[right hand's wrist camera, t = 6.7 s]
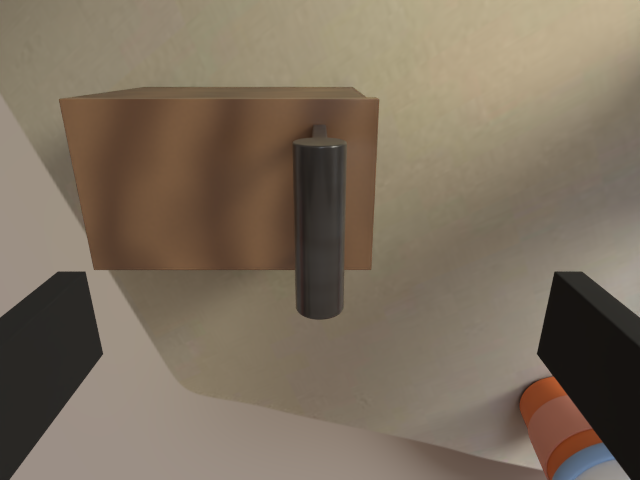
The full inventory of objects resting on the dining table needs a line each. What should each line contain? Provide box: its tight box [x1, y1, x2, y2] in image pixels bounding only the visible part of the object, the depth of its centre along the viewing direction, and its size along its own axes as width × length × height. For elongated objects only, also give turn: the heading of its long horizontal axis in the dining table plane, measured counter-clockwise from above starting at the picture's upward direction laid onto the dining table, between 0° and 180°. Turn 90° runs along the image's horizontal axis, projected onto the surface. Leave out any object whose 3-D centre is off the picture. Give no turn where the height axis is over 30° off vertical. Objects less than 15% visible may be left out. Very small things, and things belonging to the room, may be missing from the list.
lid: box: [59, 97, 379, 319], centre depth 22 cm, size 17×10×8 cm, turn 90°
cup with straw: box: [520, 377, 630, 480], centre depth 37 cm, size 9×9×18 cm
